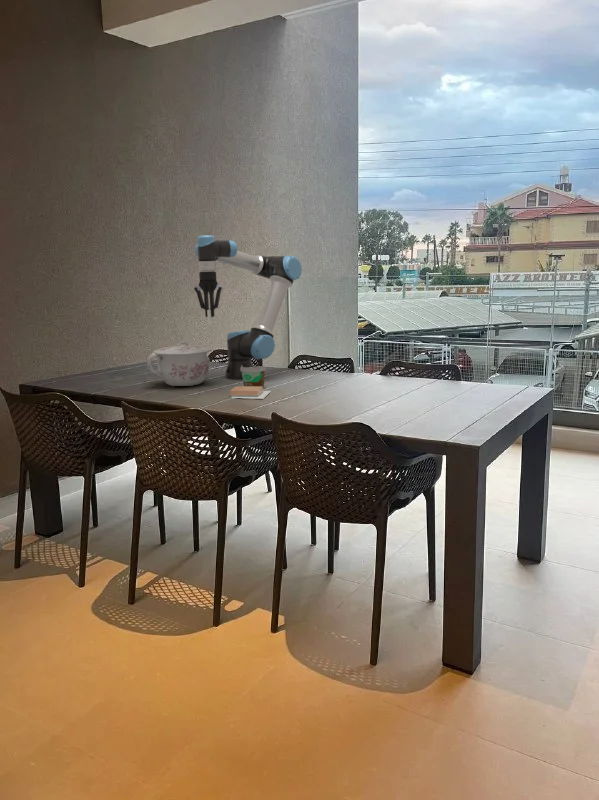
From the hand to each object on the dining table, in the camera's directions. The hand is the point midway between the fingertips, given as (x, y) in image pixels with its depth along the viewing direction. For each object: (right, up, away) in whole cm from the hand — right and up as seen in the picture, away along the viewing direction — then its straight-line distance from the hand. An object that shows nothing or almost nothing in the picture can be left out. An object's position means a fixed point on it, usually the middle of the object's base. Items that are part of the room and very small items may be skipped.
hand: (210, 324), depth 291 cm
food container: (+18, -29, +3) cm, 35 cm away
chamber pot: (-15, -27, +17) cm, 35 cm away
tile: (+12, -31, -13) cm, 35 cm away
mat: (+20, -33, -14) cm, 40 cm away
